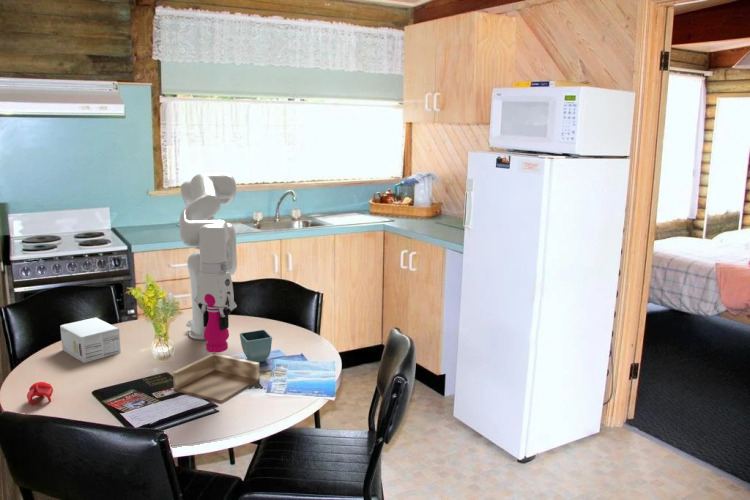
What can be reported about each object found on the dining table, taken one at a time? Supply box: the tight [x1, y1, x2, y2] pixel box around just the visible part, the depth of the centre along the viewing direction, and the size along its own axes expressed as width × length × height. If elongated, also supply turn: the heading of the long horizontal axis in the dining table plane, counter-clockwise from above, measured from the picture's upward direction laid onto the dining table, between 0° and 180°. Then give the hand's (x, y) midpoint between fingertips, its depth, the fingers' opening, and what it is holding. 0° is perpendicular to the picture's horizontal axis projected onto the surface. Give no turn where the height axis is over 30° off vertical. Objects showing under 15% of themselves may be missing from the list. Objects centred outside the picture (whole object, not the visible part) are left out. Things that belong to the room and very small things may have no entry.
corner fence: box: [172, 352, 261, 389], centre depth 190 cm, size 18×18×5 cm
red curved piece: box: [26, 381, 54, 405], centre depth 178 cm, size 8×6×6 cm
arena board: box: [173, 370, 261, 404], centre depth 191 cm, size 18×18×1 cm
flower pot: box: [239, 329, 273, 363], centre depth 210 cm, size 9×9×9 cm
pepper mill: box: [204, 294, 230, 354], centre depth 184 cm, size 7×7×20 cm
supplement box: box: [59, 317, 122, 364], centre depth 216 cm, size 17×13×9 cm
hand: (216, 326), depth 184 cm, fingers closed on pepper mill, 5 cm apart
